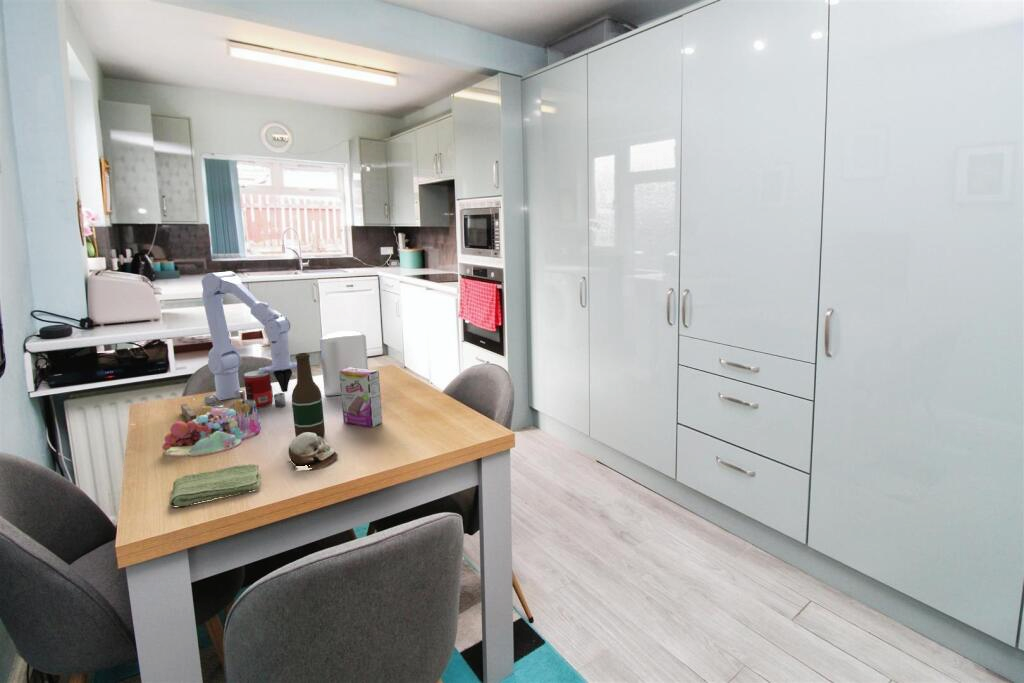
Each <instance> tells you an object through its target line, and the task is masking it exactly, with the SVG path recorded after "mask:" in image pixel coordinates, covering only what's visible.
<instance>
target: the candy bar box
mask: <svg viewBox="0 0 1024 683" xmlns="http://www.w3.org/2000/svg"><path fill="white" fill-rule="evenodd" d="M339 374H340V385H341V395H340V396H341V404H342V405H341V406H342V418H343V424H349V425H355V426H362V427H365V428H367V427H368V428H375V427H377V426H379V425H381V424H383V414H382V401H381V400H382V398H381V385H380V371H379V370H376V369H369V368H368V369H361V368H353V367H349V368H346V369H343V370H340V371H339Z"/></svg>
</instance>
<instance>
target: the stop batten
mask: <svg viewBox="0 0 1024 683" xmlns="http://www.w3.org/2000/svg"><path fill="white" fill-rule="evenodd" d="M180 408H181V413H182V415H183V416H184V417H185V419H186V421H187V422H189V421H192V420H193V419H197V414H196V413H195V412H194V411H193V409H192V408H190V406H189V405H188V404H187V403H181V404H180Z"/></svg>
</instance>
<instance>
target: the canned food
mask: <svg viewBox="0 0 1024 683" xmlns="http://www.w3.org/2000/svg"><path fill="white" fill-rule="evenodd" d="M270 374H271V373H269V371H268V372H266V373H264V374H260V373H259V369H257V370H251V371H248V372H245V373H244V374H243V380H244V389H245V398H246V400H247V399H256V406H257V409H258V408H264V407H267V406H270V405H271V404H272V403H273V397H272V390H273V389H272V390H271V385H272V382H271V381H272V380H271V375H270Z"/></svg>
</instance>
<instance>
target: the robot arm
mask: <svg viewBox="0 0 1024 683" xmlns="http://www.w3.org/2000/svg"><path fill="white" fill-rule="evenodd" d="M201 285H202V289H203V290H202V302H203V307H204V310H205V315H206V320H207V325H208V329H209V333H210V338H211V344H212V348H210V350H209V351H208V353H207V356H208V360H207V361H208V362H207V366H208V369H209V370H210V372H212V374H213V375H214V384H215V392H216V393H213V396H215V398H216V400H217V401H225V400H231V399H235V396H234V392H235V391H238V390H241V387H240V380H239V373H238V372H239V370H240V369H239V367H240V366H241V364H242V358H241V355H240V354H239V352H238V349H237V347H236V346H235V345H233V344H232V343H231V340H230V334H229V331H228V326H227V320H226V316H225V311H224V307H223V301H222V300H223V299H224V297H225V296H226V295H227V294H232V295H234V296H235V297H236V298H237V299H239V300H240V301H241V302H242V303H243V304H245V305H246V306H247V307H248V308H249V309H250V314H251V315H252V316H253V317H254V318H255V319H256V320H257V321H259V323H260V324H261V325H262V326H263V327H264V328H263V330H264V332H265V333H266V335H267V337H268V338H267V339H268V340H269V345H270V354H271V363H272V365H269V366H265V367H259V368H258V370H259V373H260V374H264V373H266V372H268V371H269V373H270V374H271V373H272V374H273V376H274V377H275V379H276V381H277V382H278V385H279V387H280V391H281V393H287V392H288V387H289V383H290V380H291V377H292V375H293V370H297V361H296V362H295V361H293V362H291V356H290V345H289V336H288V332H289V331H290V329H291V322H290V321H289V319H288V318H287V317H286V316H281V315H280V314H278V313H276V311H274V310H273V309H272V307H270V305H269V303H268V302H265V301H259V300H258V299H257V298H256V297H255V296H254V295H253V294H252V292H250V290H248V288H247V287H246V286H245V285H244V283H242V281H241V277H239V276H238V275H237V274H236V273H235V272H233V271H231V270H228V271H227V270H226V271H221V272H209V273H207V274H205V275H204V277H203V278H202V279H201Z"/></svg>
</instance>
